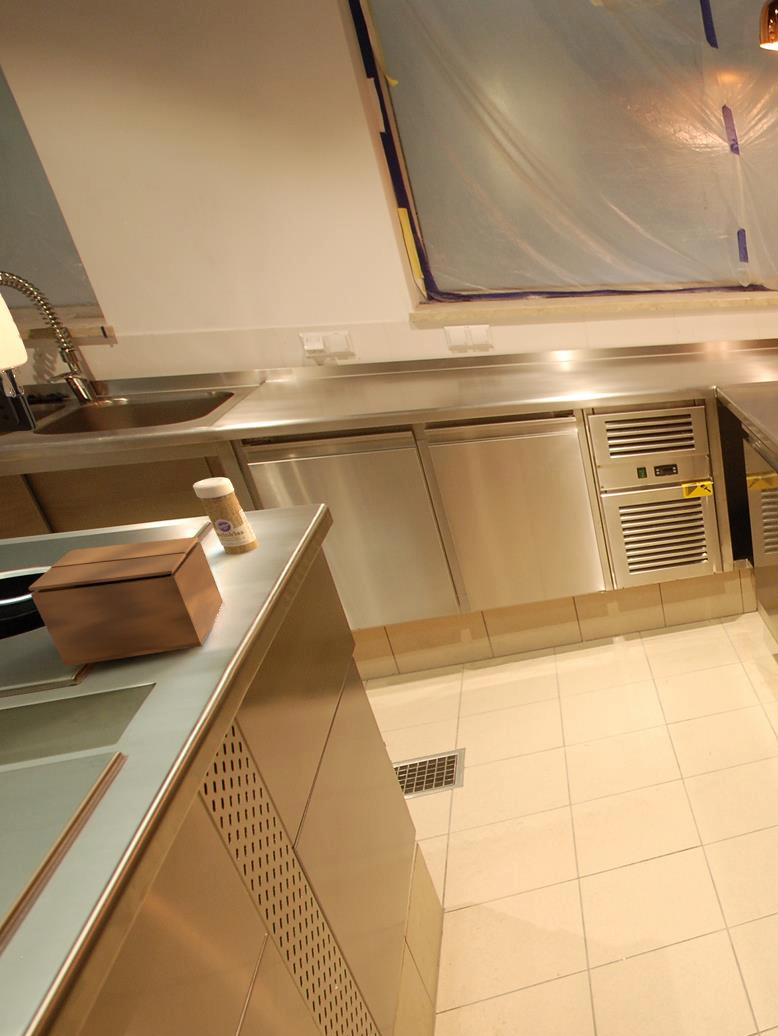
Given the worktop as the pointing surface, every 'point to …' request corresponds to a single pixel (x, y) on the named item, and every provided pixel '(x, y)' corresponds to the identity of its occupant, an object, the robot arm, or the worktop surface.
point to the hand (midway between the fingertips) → (17, 429)
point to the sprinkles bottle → (226, 515)
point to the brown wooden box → (128, 606)
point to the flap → (126, 552)
